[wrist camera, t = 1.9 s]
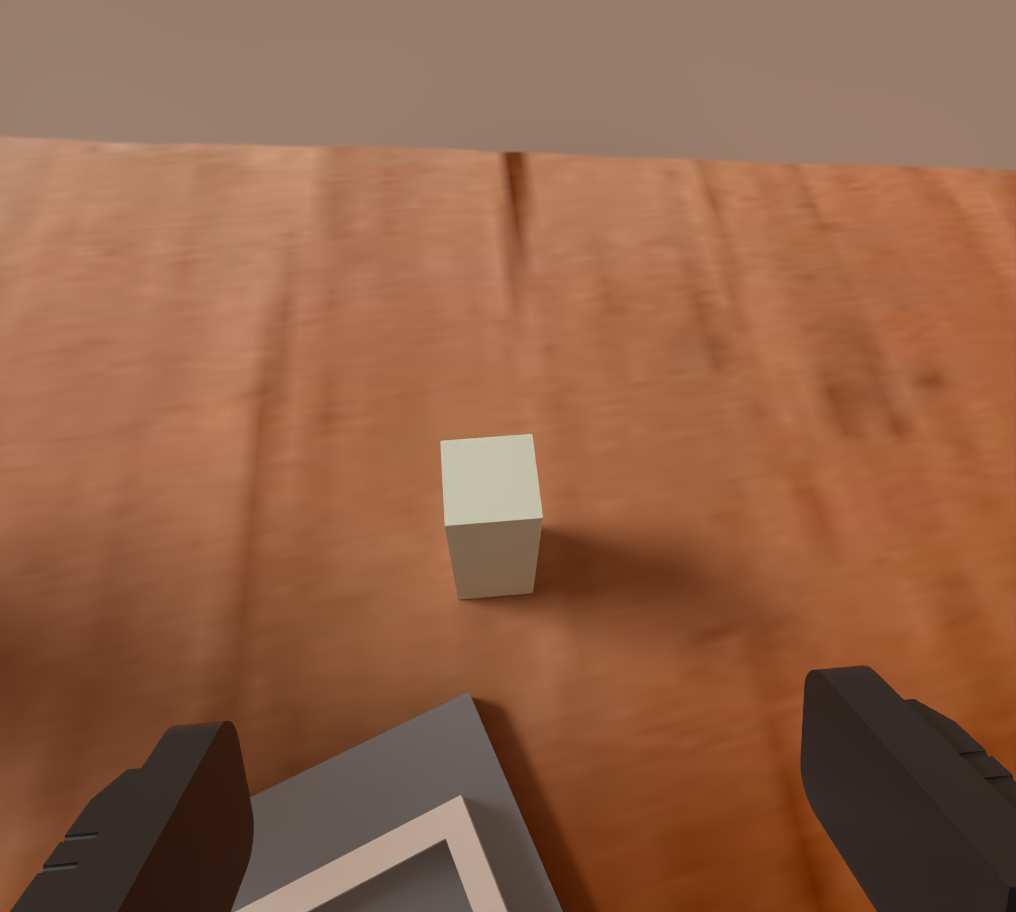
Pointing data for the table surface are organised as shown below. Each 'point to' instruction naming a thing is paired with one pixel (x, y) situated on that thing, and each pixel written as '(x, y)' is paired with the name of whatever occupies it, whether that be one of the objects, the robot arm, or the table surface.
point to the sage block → (492, 514)
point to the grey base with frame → (398, 828)
